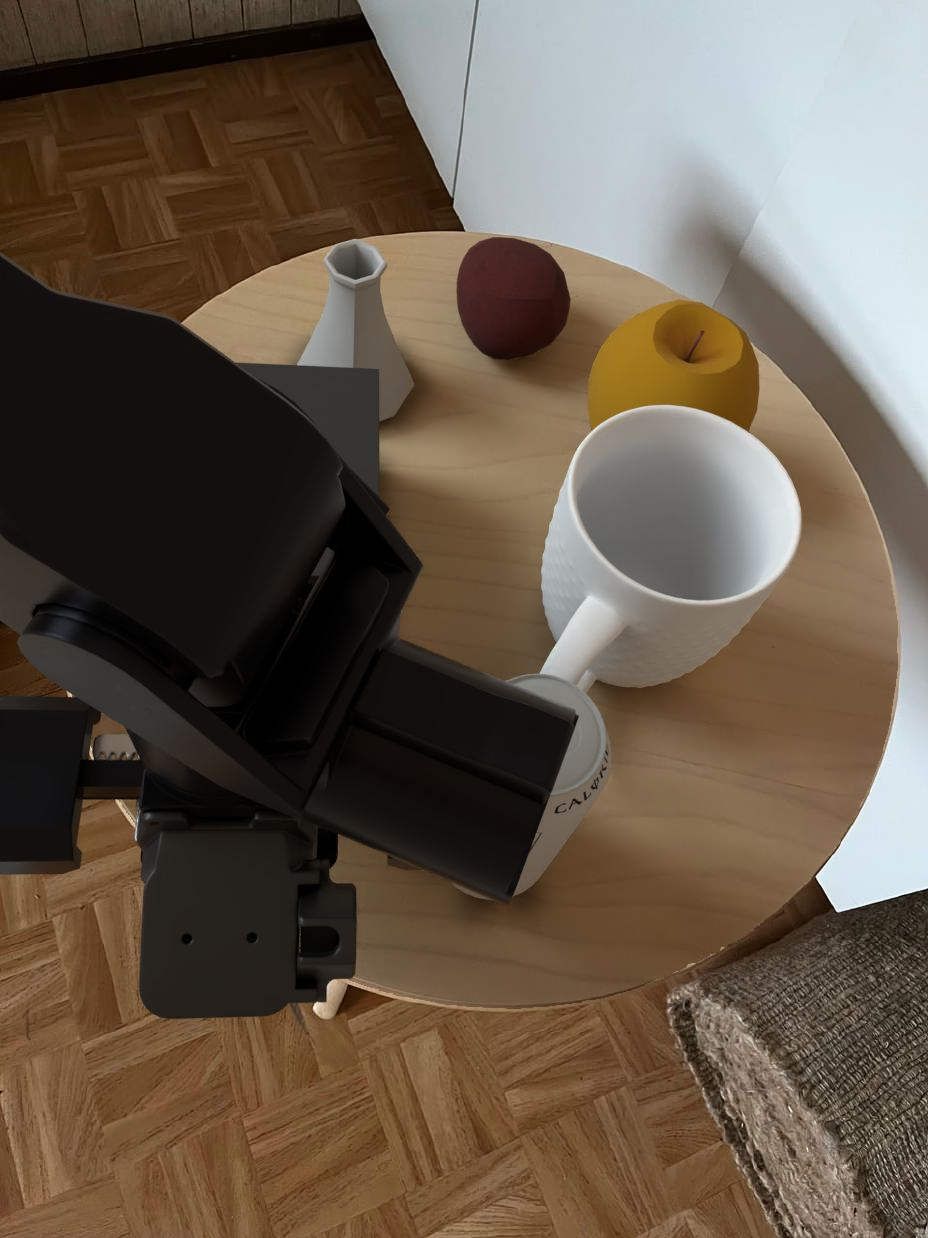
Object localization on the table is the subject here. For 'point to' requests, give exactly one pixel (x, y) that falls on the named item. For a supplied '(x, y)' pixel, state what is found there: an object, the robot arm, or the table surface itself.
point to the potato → (511, 297)
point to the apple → (676, 365)
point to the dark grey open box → (334, 414)
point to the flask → (359, 324)
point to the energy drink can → (566, 775)
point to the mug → (662, 545)
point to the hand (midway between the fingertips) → (255, 843)
